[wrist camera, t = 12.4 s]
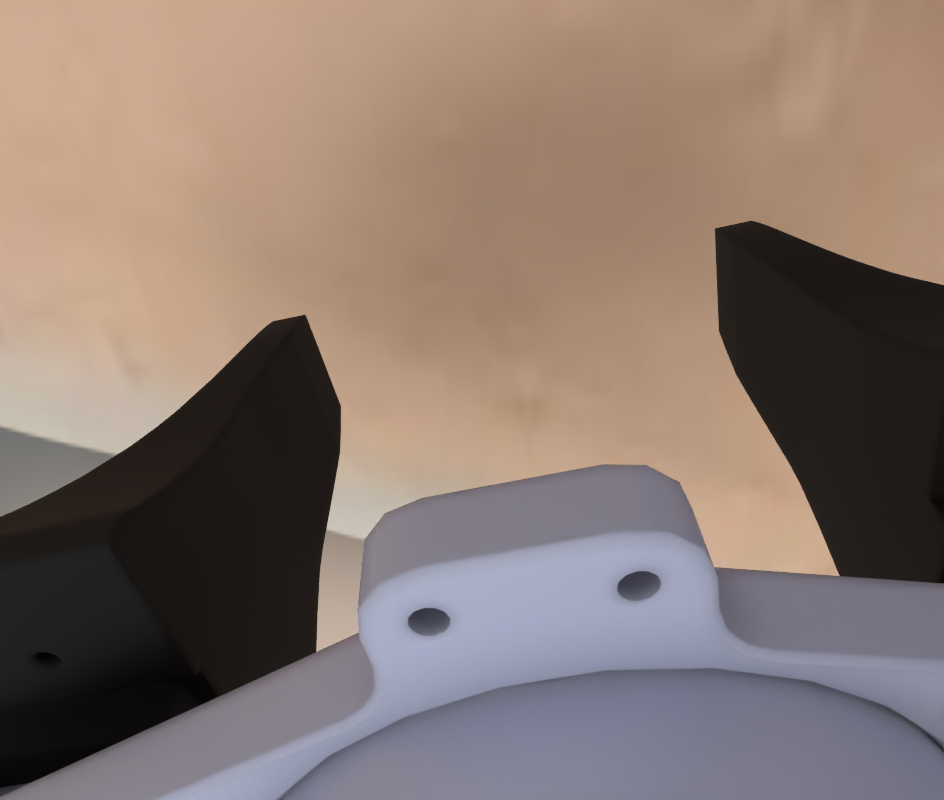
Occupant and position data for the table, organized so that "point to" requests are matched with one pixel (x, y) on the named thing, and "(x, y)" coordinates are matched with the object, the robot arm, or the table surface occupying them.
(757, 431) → the table surface
